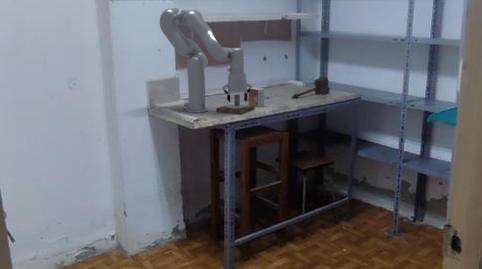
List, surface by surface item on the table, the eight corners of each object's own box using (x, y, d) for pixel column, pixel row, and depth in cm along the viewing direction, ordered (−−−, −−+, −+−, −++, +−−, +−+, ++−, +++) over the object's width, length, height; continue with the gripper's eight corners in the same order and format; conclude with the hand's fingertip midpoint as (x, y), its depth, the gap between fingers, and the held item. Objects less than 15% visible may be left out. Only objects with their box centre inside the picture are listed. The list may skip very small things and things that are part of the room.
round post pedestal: (221, 107, 281) (221, 94, 279) (231, 104, 291) (231, 91, 289) (239, 109, 276) (239, 96, 274) (250, 105, 286) (249, 92, 284)
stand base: (216, 111, 281) (216, 107, 280) (230, 106, 294) (230, 103, 294) (241, 114, 273) (241, 110, 273) (254, 109, 287) (254, 105, 286)
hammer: (330, 91, 336) (329, 77, 332) (297, 107, 318) (295, 92, 314) (322, 90, 341) (321, 76, 337) (289, 105, 323) (287, 91, 319)
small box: (248, 105, 298) (248, 88, 296) (254, 104, 302) (254, 87, 299) (258, 107, 293) (258, 89, 290) (264, 106, 296) (264, 88, 294)
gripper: (222, 72, 269) (223, 103, 273) (253, 70, 272) (253, 101, 277) (220, 70, 276) (221, 100, 281) (250, 69, 279) (251, 99, 284)
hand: (237, 101), depth 279 cm, fingers open, 8 cm apart
